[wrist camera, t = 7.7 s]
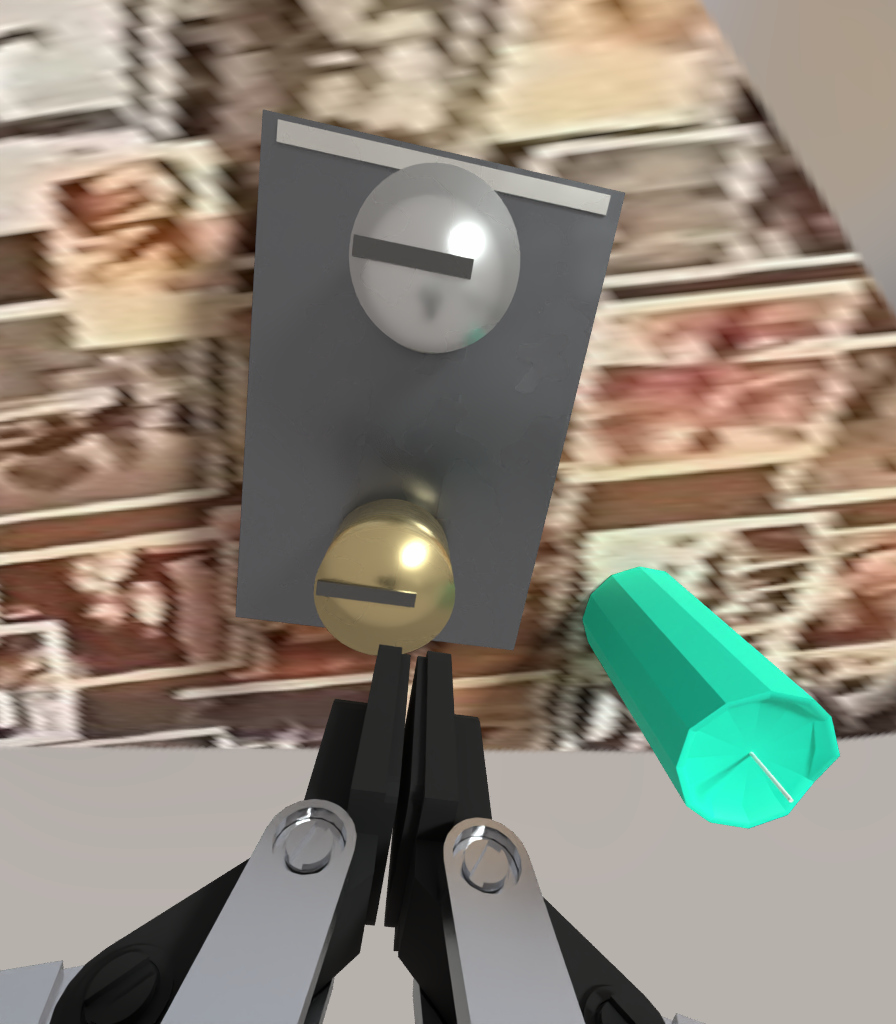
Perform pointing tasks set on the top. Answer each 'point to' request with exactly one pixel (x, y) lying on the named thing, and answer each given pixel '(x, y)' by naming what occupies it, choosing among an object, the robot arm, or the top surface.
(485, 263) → the knob
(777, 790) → the candle
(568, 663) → the top surface
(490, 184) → the mount
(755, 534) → the top surface
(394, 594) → the knob
